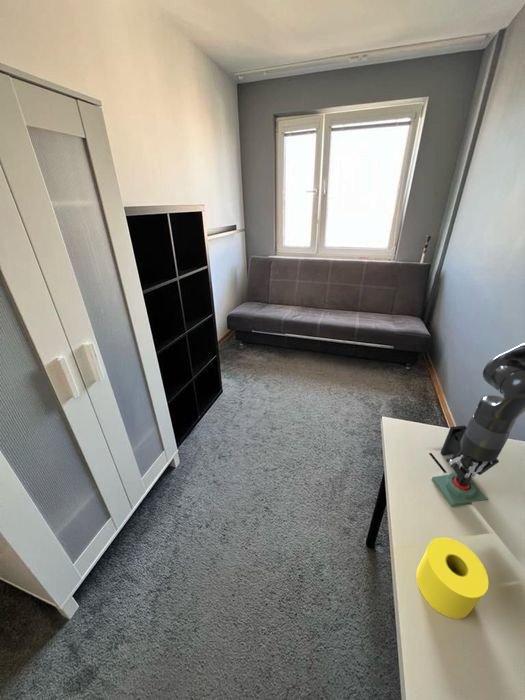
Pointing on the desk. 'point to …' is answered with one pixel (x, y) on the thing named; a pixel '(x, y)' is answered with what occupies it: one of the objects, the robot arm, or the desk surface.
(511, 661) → the desk surface
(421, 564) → the tape roll
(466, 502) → the switch block
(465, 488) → the button
